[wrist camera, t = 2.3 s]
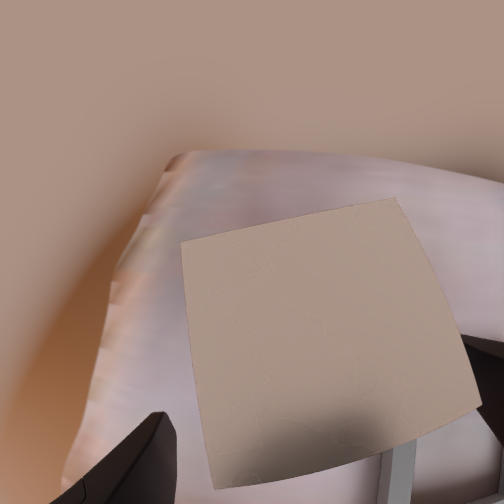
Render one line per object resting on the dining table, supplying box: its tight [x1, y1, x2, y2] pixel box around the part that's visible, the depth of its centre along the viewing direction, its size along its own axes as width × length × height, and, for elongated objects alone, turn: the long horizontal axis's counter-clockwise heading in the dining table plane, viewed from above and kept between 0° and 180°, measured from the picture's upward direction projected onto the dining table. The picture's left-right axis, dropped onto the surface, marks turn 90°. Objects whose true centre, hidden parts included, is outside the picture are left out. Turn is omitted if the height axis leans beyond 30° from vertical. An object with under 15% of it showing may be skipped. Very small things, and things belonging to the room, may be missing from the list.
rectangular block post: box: [180, 197, 482, 489], centre depth 11 cm, size 5×5×12 cm
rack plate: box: [376, 438, 504, 504], centre depth 11 cm, size 11×10×2 cm
